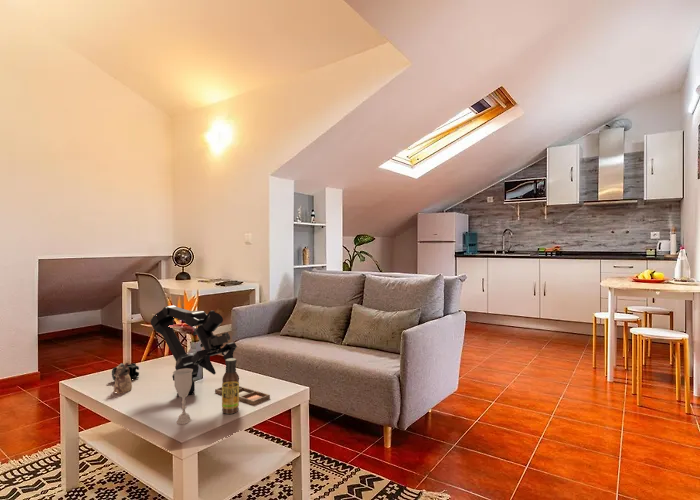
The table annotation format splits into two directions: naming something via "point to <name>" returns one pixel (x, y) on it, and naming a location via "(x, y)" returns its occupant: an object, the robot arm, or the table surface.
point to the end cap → (132, 373)
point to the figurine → (122, 379)
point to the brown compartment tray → (248, 395)
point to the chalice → (183, 390)
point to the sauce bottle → (230, 388)
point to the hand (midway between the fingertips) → (224, 370)
